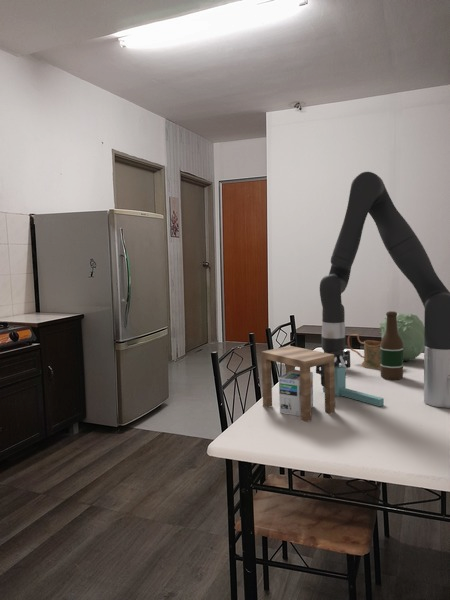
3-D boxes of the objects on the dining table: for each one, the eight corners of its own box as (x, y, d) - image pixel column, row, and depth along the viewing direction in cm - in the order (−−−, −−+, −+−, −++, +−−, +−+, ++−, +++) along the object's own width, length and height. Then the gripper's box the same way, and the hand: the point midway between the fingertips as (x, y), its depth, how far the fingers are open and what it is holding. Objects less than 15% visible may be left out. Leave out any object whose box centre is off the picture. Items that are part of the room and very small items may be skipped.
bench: (334, 411, 136) (334, 354, 135) (306, 421, 129) (305, 361, 128) (291, 397, 151) (289, 345, 149) (262, 406, 144) (261, 351, 142)
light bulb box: (300, 416, 133) (299, 380, 132) (278, 413, 137) (277, 377, 136) (314, 405, 142) (313, 371, 141) (293, 402, 146) (292, 368, 145)
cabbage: (423, 366, 183) (424, 316, 181) (374, 361, 194) (374, 313, 191) (431, 358, 196) (431, 311, 194) (384, 354, 207) (384, 309, 204)
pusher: (323, 392, 156) (322, 365, 155) (331, 389, 158) (331, 363, 157) (377, 407, 139) (377, 378, 138) (385, 404, 141) (385, 375, 140)
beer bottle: (379, 379, 168) (379, 313, 165) (381, 374, 175) (380, 310, 172) (402, 381, 165) (403, 313, 162) (403, 375, 172) (403, 310, 169)
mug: (353, 359, 199) (353, 331, 198) (395, 364, 189) (395, 334, 188) (342, 365, 190) (342, 336, 189) (386, 370, 180) (386, 339, 178)
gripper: (327, 339, 145) (327, 390, 147) (356, 333, 154) (356, 382, 155) (309, 336, 151) (310, 385, 153) (338, 331, 160) (338, 377, 161)
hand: (333, 383), depth 154 cm, fingers open, 8 cm apart
